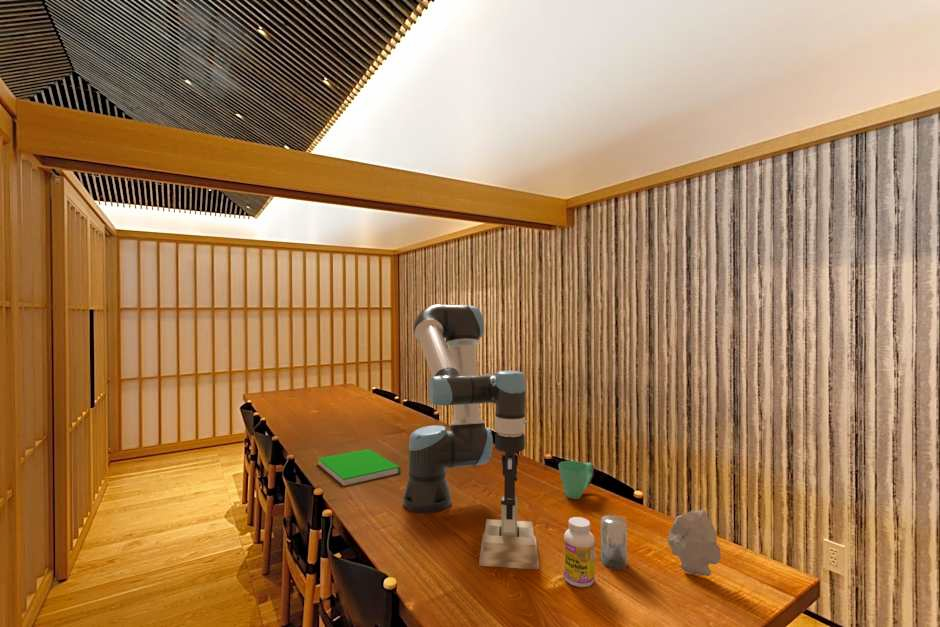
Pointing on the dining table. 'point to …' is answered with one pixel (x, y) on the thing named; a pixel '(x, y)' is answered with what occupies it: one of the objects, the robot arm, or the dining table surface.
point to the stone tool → (694, 542)
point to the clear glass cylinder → (614, 542)
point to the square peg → (515, 521)
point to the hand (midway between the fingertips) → (509, 518)
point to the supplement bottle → (579, 553)
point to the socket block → (509, 546)
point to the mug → (575, 477)
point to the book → (358, 466)
